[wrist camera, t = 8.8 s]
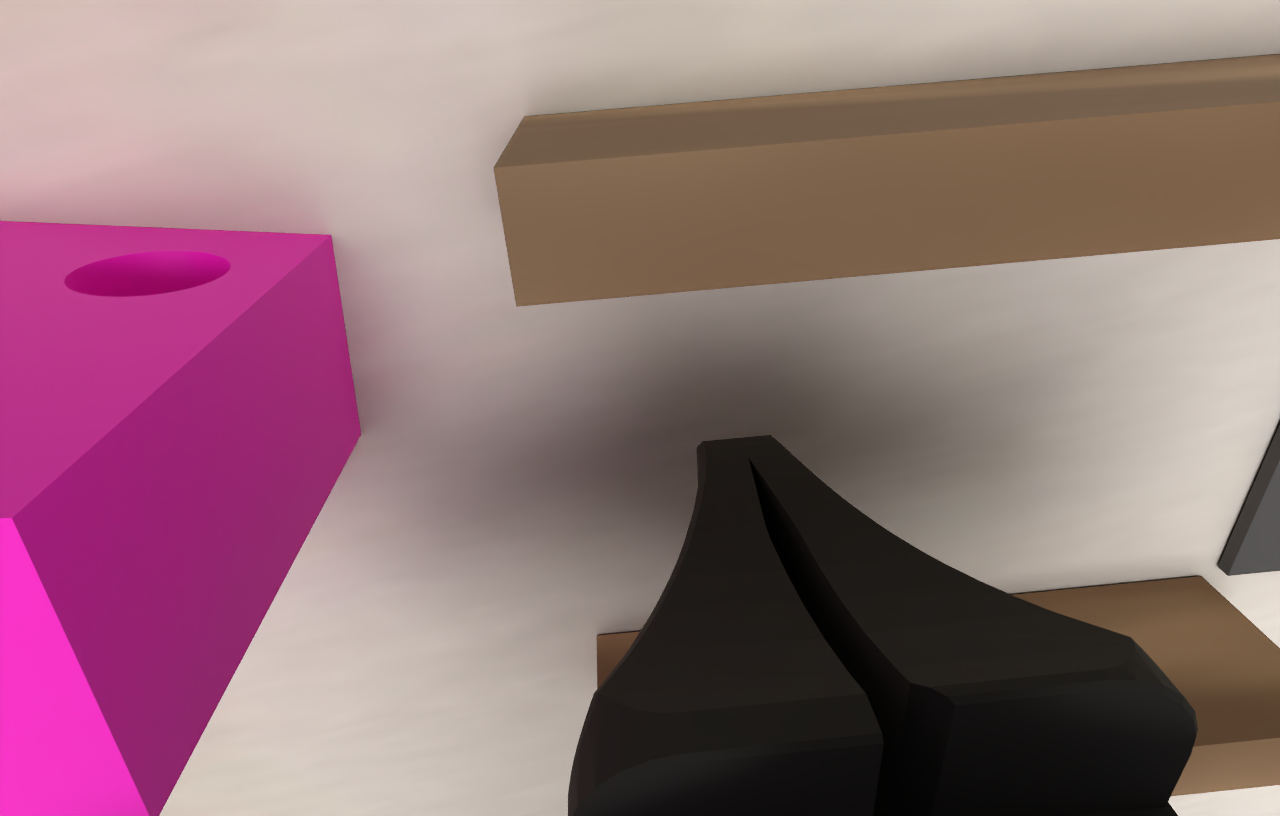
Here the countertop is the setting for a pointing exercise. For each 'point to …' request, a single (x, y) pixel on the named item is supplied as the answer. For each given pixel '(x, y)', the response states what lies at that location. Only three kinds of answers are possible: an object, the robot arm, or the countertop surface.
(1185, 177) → the channel
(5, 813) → the toy block
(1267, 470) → the pit pad
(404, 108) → the countertop surface
